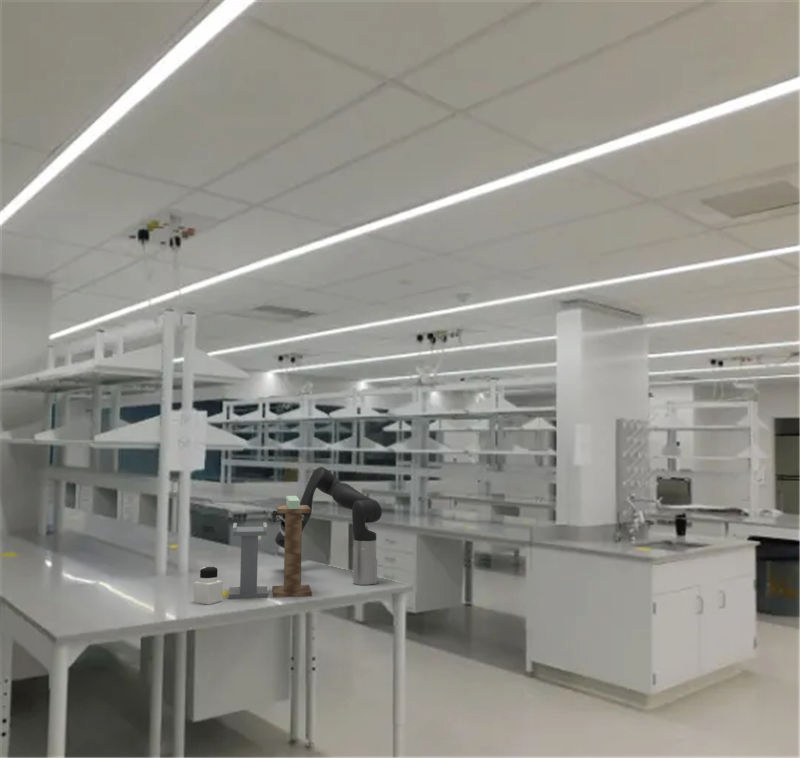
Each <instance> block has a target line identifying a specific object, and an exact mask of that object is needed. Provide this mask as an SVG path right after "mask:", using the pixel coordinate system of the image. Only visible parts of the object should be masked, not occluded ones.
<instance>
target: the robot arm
mask: <svg viewBox="0 0 800 758" xmlns="http://www.w3.org/2000/svg"><path fill="white" fill-rule="evenodd" d="M304 489H305V490H304V491H303V495H302V497H301V499H300V505H308V506H309V507H310V509H311V513H302V532H303V531H304V529H305V527H306V525H307V524H308V522H309V520H310V518H311V516H312V512H313V502H314V501H313V499H314V496H315V495H314V494H315V492H316V490H317V489H318V490H319V491H321V492H322V493H324V494H326V495H329V496H330V497H331V498H332V500H333V501H334V502H335V503H336V504H337V505H339V506H341V508H342V507H343V508H345V509H348V510H352V511H351V516H352V518H351V519H352V534H353V563H352V565H353V570H352V573H353V574H352V575H353V576H352V578H353V579H352V581H353V584H354V585H360V586H361V585H363V586H368V585H374V584H378V559H377V532H376V531H375V532H374V531H373V530H369V529H368V528H367V526H366V524H367V523H368V524H369V523H370V524H371V523H375V522H378V521H379V520H380V519H381V517H382V514H383V511H382V508H381V505H380V503H379V502H378V501H377V500H375V499H373V498H371V497H368V495H367V496H366V495H364V494H363V493H361V492H360V491H358V490H357V489H355V488H354V487H352V486H351V485H350V484H348V483H345V482H342V481H340V480H339V479H338V478H337V477H336V476H335V475H334V474H333V473H332V472H331V471H330V470H328V469H327V468H325V467H323V466H320V467H317V468H316V469H314V471H313V472H312V474H311V476H310V477H309V480H308V482H307V485H306V487H305V488H304ZM277 521H280V522H279V523H280V524H279V529H280V530H279V531H278V533H277V535H276V536H275V537H274V538H275V539H274V541H275V543H276V544H277V545H278V546H279V547H281V548H283V549H285V513H278V512H277V510H273V511H272V522H273V523H276V522H277Z"/></svg>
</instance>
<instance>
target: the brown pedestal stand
mask: <svg viewBox="0 0 800 758" xmlns="http://www.w3.org/2000/svg"><path fill="white" fill-rule="evenodd" d="M276 511H277V512H278V513H285V548H284V554H283V555H284V557H283V585H272V589H271V590H272V596H273V598H287V597H288V598H291V597H292V598H293V597H312V596H313V595H312V594H313V592H312V589H311V587H310V584H302V547H303V546H302V544H303V543H302V542H303V540H302V539H303V537H302V536H303V531H302V513H311V514H312V512H311V509H310V507H309V506H308V505H300V509H289V508H288V506H287V504H284V505H282V504H281V505H280V504H279V505H276Z"/></svg>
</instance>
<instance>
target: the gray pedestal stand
mask: <svg viewBox="0 0 800 758" xmlns="http://www.w3.org/2000/svg"><path fill="white" fill-rule="evenodd" d="M262 523H263V524H262V525H263V526H238V523H237V522H233V524H232V537H241V539H240V542H241V543H240V580H239V586H230V587H229V590H228V599H230V600H231V599H234V600H235V599H236V600H237V599H262V598H265V599H266V598H268V597H269V590H268V589H269V588H268V585H259V586H258V558H259V557H258V555H259V554H258V549H259V536H267V532H268V524H267V522H262Z"/></svg>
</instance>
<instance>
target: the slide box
mask: <svg viewBox="0 0 800 758" xmlns="http://www.w3.org/2000/svg"><path fill="white" fill-rule="evenodd" d="M300 502H301V499H300V498H299V497H298V496H297V495H286V497H285V503H286V504H285V505H287V506H288V508H289V509H300Z"/></svg>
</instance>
